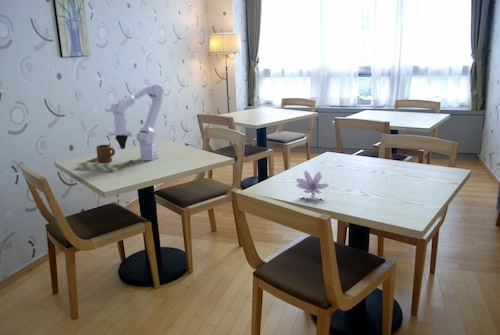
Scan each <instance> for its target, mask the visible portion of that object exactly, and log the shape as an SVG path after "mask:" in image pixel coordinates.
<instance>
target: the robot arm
mask: <svg viewBox="0 0 500 335" xmlns="http://www.w3.org/2000/svg"><path fill="white" fill-rule="evenodd" d="M164 91H165V90H164V88H163V86H162V84H161V83H150V82H148V83H146V84H144V85H143V86H142V87H141V88H140V89H138V90H137V91H135V92H133V94H125V95H124V97H123V98H121V99H118V100H117V101H116V102H115V101H114V102H113V103H112V104H111V106H110V108H109V109H110V111H111V112H112V115H113V122H114V130H115V131H111V130H110V131H109V132H108V134H109V136H115V137H114V138H115V140H116V141H117V143H118V145H119V148H120V150H124V149H126V143H127V140H128V138H129V137H134V132H132V131H127V125H126V118H125V113H126V110H127V109H129V108H130V107H131V106H133V105H135V103H136V100H138V99H140V98H142V97H144V96H145V95H147V96H148V97H150V99H151V104H150V107H149V111H148V113H147V116H146V118H145V122H144V125H143V126H142V127H141V128H140V130H139V131H138V133H137V134H136V140H137V142H138V143H139V149H140V157H139V158H137V160H140V161H141V160H142V161H154V160H156V159H159V158H160V156H159V153H158V146H157V144H154V142H155V135H156V132H155V130H154V129H155V128H154V127H155V124H156V122H157V119H158V117H159V116H158V115H159V113H160V110H161V108H162V103H163V94H164Z"/></svg>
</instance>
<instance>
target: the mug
mask: <svg viewBox="0 0 500 335" xmlns="http://www.w3.org/2000/svg"><path fill="white" fill-rule="evenodd" d="M95 148H96V157H98V161H97V163H102V164H109V163H111V162H112V157H114V155H115V154H116V150H115V148H114V147H112V146H110V145H109V144H99V145H97V146H96V147H95Z"/></svg>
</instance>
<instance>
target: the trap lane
mask: <svg viewBox="0 0 500 335" xmlns="http://www.w3.org/2000/svg"><path fill="white" fill-rule="evenodd" d="M76 164H77V169H80V170H81V169H83V170H94V171H105V172H118V171H120V170H122V169H125V168H126V167H129V166H130V165H133V164H134V160H133V159H130V160H128V161H126V162H124V163H122V164H115V163H114V164H111V163H110V164H109V163H99V162H98V157H97V156H96V157H95V158H92V159H89V160H87V161H77V163H76Z"/></svg>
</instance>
